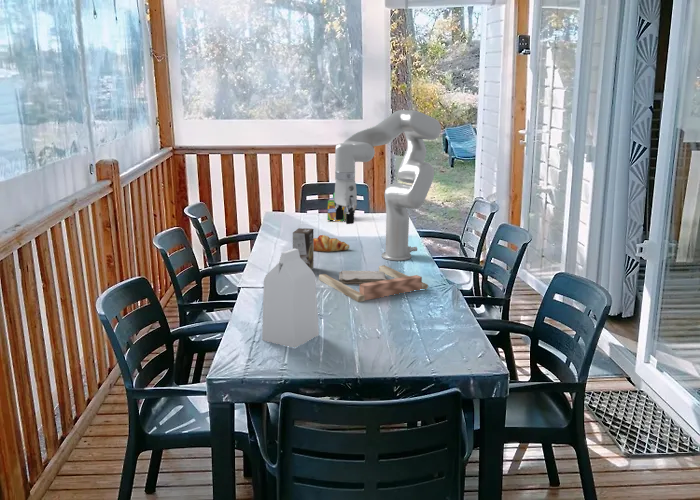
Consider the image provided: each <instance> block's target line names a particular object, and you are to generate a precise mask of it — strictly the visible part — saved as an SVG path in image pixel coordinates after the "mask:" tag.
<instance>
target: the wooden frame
mask: <svg viewBox="0 0 700 500" xmlns="http://www.w3.org/2000/svg"><path fill="white" fill-rule="evenodd" d="M378 271H381V272H384V273H385V275H387V276H389V277H391V279H386V280H383V281H376V282H370V283H364V284H360V285H359V291H357V290H355V289H354V288H352V287H350V286H348V285H347V284H343V283H341V282H339V280H338V279H335V278H333V277H331V276H330V275H328V274H326V273H322V274H319V275H318V280H319V281H320V282H321V283H323V284H325V285H327V286H329V287H330V288H333V289H334V290H336V291H337V292H339V293H342V294H343V295H346V296H347V297H349V298H350V299H352V300H354V301H355V302H358V303H361V302H365V301H368V300H375V299H380V297H381V298H385V297H384V296H387V297H390V296H389V295H393V296H395V295H394V294H398V295H400V294H399V293H404V292H410V291H414V290H420V289H427V288H428V289H429V284H428V283H425V282H424V281H423V277H422V276H420V275H418V274H416V275H407V274H405V273H402V272H400V271H399V270H396V269H394V268H391V267H390V266H387V265H385V264H383V265H379V266H378ZM393 277H394V278H393ZM410 293H411V292H410ZM404 294H405V293H404Z"/></svg>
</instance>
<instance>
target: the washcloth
mask: <svg viewBox="0 0 700 500" xmlns="http://www.w3.org/2000/svg"><path fill="white" fill-rule="evenodd" d="M338 274H339V275H338V281H339V282H341V283H343V284H345V285H359V286H360V284H364V283H370V282H376V281H383V280H387V278H386V275H387V274H385V273H384V272H381V271H379V270H373V271H371V270H340V271H339V272H338Z"/></svg>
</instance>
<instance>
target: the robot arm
mask: <svg viewBox="0 0 700 500" xmlns="http://www.w3.org/2000/svg"><path fill="white" fill-rule="evenodd" d="M402 133H404V136H405V139H406V140H405V141H406V150H405V152H404V156H403V158H402V160H401V162H400V164H399V166H398V167H399V168H398V169H397V173H396V176H397V179H398V180H399V181H401V182H402V183H400V182H393V183H390V184H389V185H387V186H386V188H385V190H384V201H385V210H386V212H385V214H386V215H385V216H386V220H385V221H386V223H385V224H386V225H385V251H383V252H381V257H382V258H383V259H384V260H389V261H398V262H399V261H407V260H410V259H412V254H411V253H412V252H417V251H418V247H417V246H409V232H410V231H409V229H410V228H409V227H410V214H409V211H408V209H410V210H411V209H412V210H416V209H417V210H418V209H419V208H421V207H422V206H423V205H424V202H425V200H426V198H427V196H428V194H429V191H430V189H431V186H432V184H433V181H434V178H435V171H434V170H435V169H434V167H433V165H432V164H431V163H429V162H427V161H425V158H426V156H427V148H426V145H425V142H424V140H428V141H430V140H431V141H434V140H436V139H438V138H439V137H440V135H441V133H442V126H441V123H440V121H439V120H437V119H436V118H435V117H432V116H430V115H427V114H425V113H423V112H421V111H417V110H412V109H410V110H409V109H399V110H395V111H394V112H392V113H391V114H390V115H389V116H387V117H386V118H384V119H383V120H381V121H380V122H379V123H378V124H376V125H373V126H370V127H368V128H366V129H363V130H361V131H358V132H356V133H354V134H352V135H351V136H349V137H348V138H347V139H346V140H344V141H343V142H342V143H340V142H339V143H337V144H336V145H335V154H334V156H335V157H334V158H335V160H334V161H335V165H334V166H335V167H334V168H335V169H334V170H335V171H334V173H335V174H334V180H335V182H334V193H335V197H334V198H333V197H332V198H333V199H334V204H335V210H336V220H343V206H344V207H346V210H347V214H346V220H345V223H346V225H350V224H351V225H353V224H354V223H355V213H356V210H357V207H358V196H357V183H356V162H357V163H367V162H370V161H371V160H372V159H373V158H374V157H375V153H376V151H375V148H374V147H378V146H379V147H380V146H383V145H387V144H390V143H391V142H392V141H394V140H395V139H396V138H398V137H399V135H401V134H402Z"/></svg>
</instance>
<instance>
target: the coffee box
mask: <svg viewBox="0 0 700 500" xmlns="http://www.w3.org/2000/svg"><path fill="white" fill-rule="evenodd" d="M313 239H314V228H302V227H301V228H300V227H299V228H297V229H296V230H295V231H293V232H292V249H294V248H295V249H298V251H299V254H300V258H301V259H302V260H303V261H304V262H305V263H306V264H307V266H308V267H309V268H310V269H311V270H312V271H313V269H314V267H315V266H314V261H315V260H314V255H315V254H314V251H313Z"/></svg>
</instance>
